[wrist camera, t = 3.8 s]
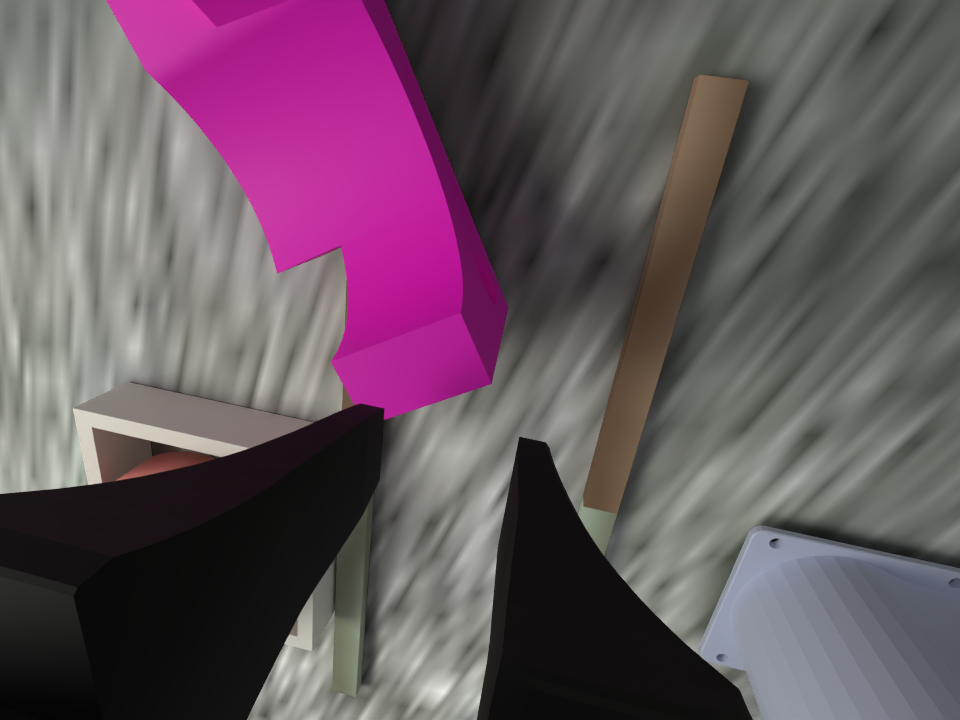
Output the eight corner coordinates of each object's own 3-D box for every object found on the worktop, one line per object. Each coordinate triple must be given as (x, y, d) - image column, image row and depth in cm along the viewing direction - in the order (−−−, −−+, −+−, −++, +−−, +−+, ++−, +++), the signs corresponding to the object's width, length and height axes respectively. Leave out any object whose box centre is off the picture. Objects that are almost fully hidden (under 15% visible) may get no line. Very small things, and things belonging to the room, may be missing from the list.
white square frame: (344, 429, 23) (314, 462, 21) (337, 604, 28) (312, 651, 25) (128, 382, 25) (73, 408, 22) (154, 556, 29) (110, 597, 26)
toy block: (174, -31, 16) (-91, -178, 9) (330, -134, 15) (151, -398, 8) (372, 357, 21) (290, 451, 14) (508, 307, 19) (491, 384, 12)
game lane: (740, 84, 16) (749, 80, 15) (546, 735, 29) (545, 749, 28) (364, 38, 17) (355, 32, 17) (338, 677, 30) (332, 690, 29)
